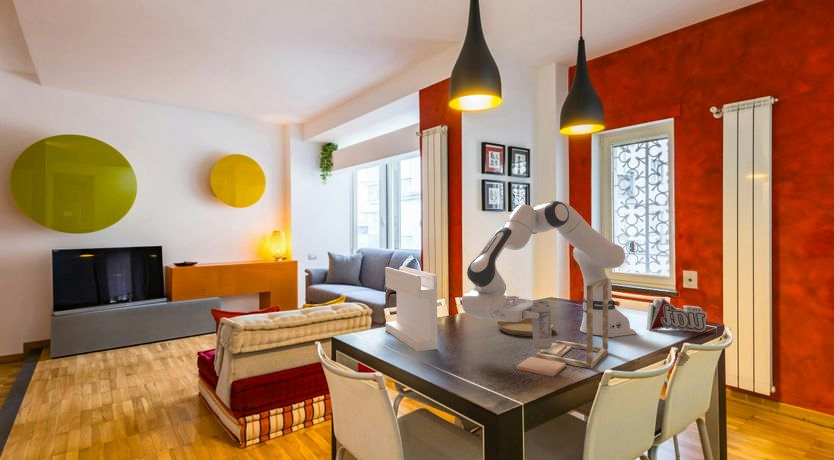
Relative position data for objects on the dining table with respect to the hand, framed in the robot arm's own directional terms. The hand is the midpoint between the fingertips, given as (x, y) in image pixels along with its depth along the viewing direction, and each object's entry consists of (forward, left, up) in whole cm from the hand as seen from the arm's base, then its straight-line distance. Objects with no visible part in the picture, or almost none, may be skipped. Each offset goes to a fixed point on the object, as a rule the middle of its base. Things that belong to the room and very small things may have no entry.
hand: (543, 313), depth 142 cm
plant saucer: (-14, -48, -18) cm, 53 cm away
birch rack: (-16, -11, -18) cm, 27 cm away
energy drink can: (0, -1, -11) cm, 11 cm away
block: (+38, -43, -18) cm, 60 cm away
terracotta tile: (+1, -1, -18) cm, 18 cm away
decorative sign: (-79, -36, -18) cm, 89 cm away
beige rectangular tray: (-12, -16, -18) cm, 26 cm away
